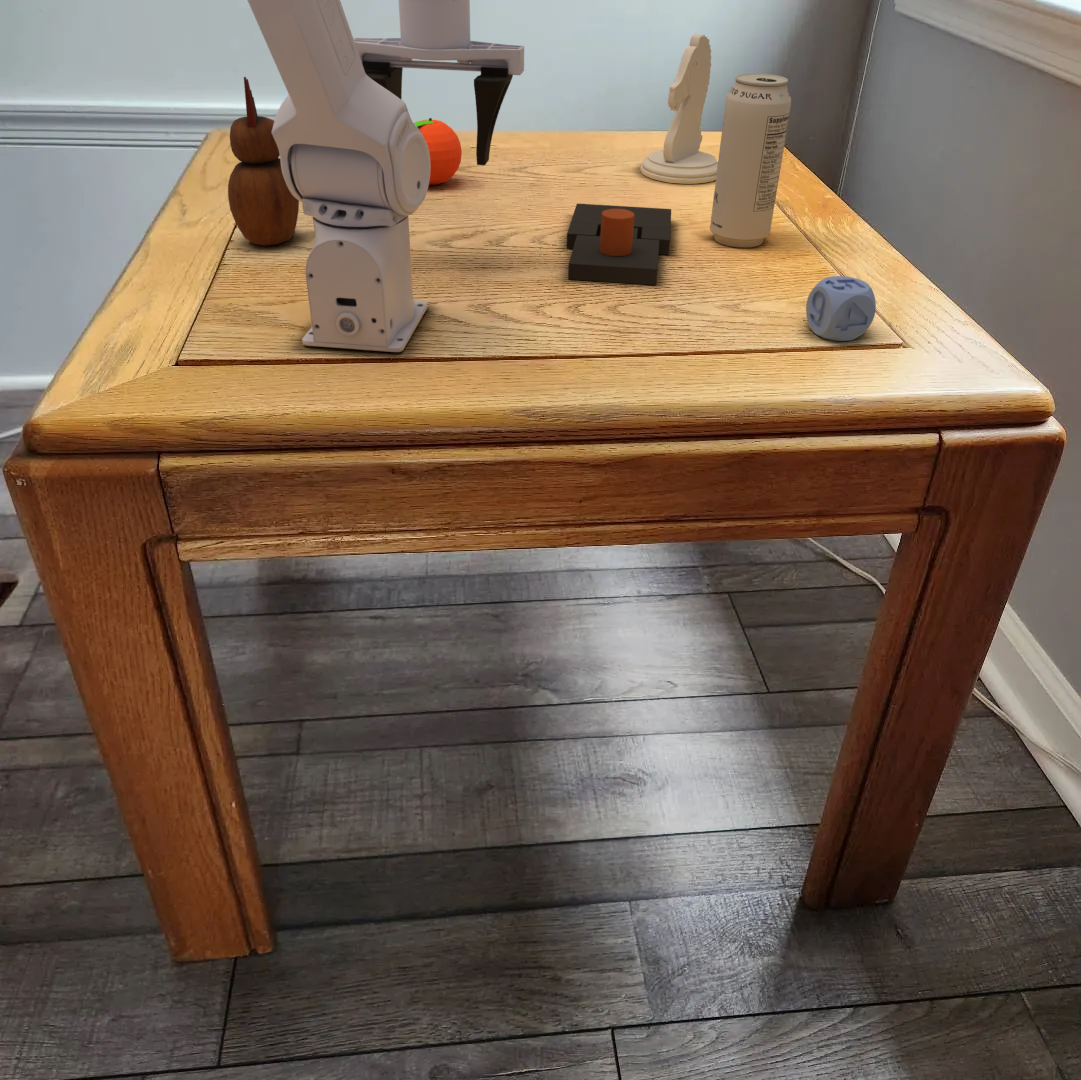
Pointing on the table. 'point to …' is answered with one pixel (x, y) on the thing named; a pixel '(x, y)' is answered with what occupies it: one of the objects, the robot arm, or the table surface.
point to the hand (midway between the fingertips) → (440, 159)
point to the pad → (613, 265)
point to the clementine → (441, 149)
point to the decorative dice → (840, 308)
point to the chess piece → (686, 123)
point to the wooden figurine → (259, 181)
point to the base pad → (646, 220)
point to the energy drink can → (750, 159)
